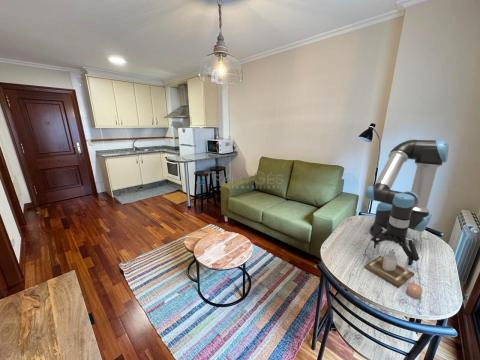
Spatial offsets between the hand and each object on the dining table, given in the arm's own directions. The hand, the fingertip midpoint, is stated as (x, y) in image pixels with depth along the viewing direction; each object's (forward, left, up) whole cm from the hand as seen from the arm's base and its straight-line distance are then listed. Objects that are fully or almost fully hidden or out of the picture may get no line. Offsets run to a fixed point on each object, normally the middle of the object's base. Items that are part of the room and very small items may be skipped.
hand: (390, 261), depth 102 cm
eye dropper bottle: (0, 0, -5) cm, 5 cm away
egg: (+6, +13, -6) cm, 16 cm away
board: (0, 0, -6) cm, 6 cm away
